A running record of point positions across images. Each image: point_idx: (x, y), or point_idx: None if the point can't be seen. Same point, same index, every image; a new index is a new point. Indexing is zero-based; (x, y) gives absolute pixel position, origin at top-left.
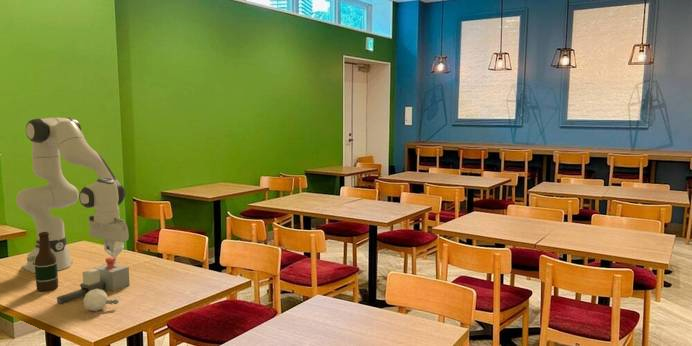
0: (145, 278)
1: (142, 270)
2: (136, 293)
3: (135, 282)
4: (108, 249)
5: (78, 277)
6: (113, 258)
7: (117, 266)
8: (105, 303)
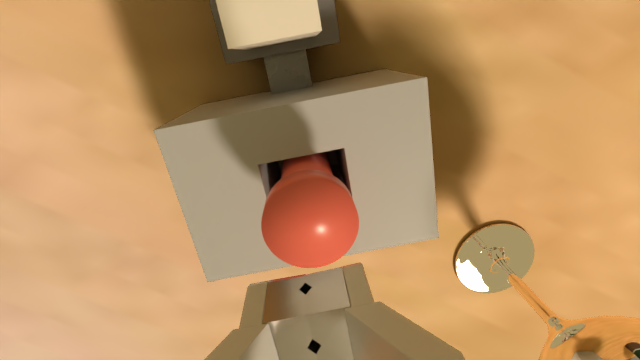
0: None
1: None
2: (59, 172)
3: None
4: (294, 277)
5: (629, 89)
6: (288, 249)
7: None
8: None
